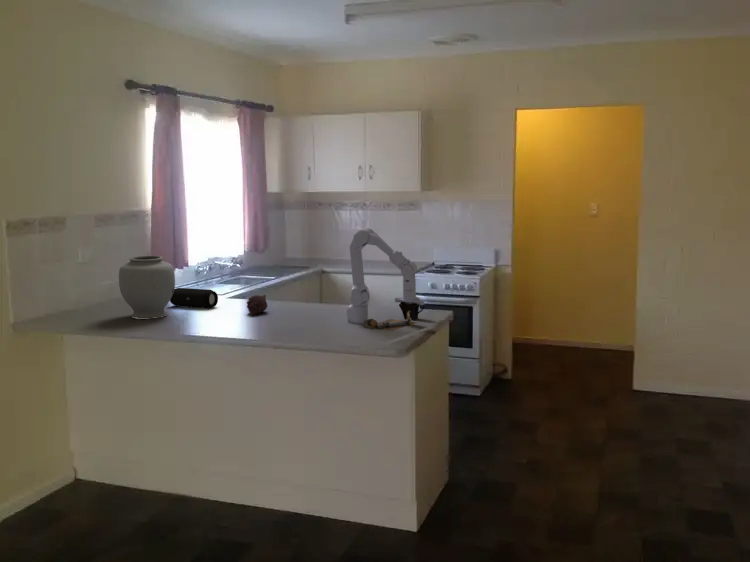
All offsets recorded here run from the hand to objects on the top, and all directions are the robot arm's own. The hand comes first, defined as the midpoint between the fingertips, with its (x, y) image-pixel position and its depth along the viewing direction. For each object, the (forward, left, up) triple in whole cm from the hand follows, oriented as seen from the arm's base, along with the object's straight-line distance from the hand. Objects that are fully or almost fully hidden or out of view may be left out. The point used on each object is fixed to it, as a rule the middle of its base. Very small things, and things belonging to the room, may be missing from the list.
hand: (409, 319), depth 335 cm
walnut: (-11, -13, -2) cm, 17 cm away
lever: (-4, -7, -2) cm, 8 cm away
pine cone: (-85, -10, -4) cm, 86 cm away
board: (-6, -5, -4) cm, 8 cm away
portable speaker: (-127, -14, -4) cm, 128 cm away
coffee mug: (-8, +15, -4) cm, 17 cm away
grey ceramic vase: (-127, -43, -4) cm, 134 cm away
